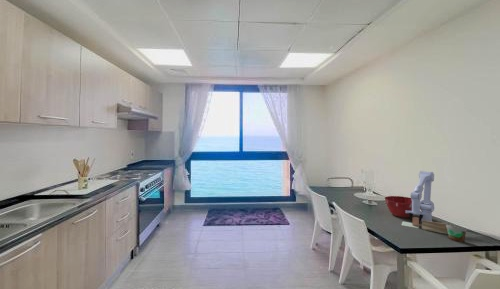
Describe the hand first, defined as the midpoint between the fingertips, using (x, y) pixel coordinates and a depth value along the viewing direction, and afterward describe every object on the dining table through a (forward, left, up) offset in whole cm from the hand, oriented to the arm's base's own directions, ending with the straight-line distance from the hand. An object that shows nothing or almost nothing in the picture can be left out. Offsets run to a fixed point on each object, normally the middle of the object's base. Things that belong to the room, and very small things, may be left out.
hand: (415, 223), depth 205 cm
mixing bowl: (-27, -12, -3) cm, 30 cm away
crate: (0, +13, -2) cm, 14 cm away
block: (0, 0, -1) cm, 1 cm away
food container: (+19, +23, -3) cm, 30 cm away
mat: (0, -4, -2) cm, 4 cm away
